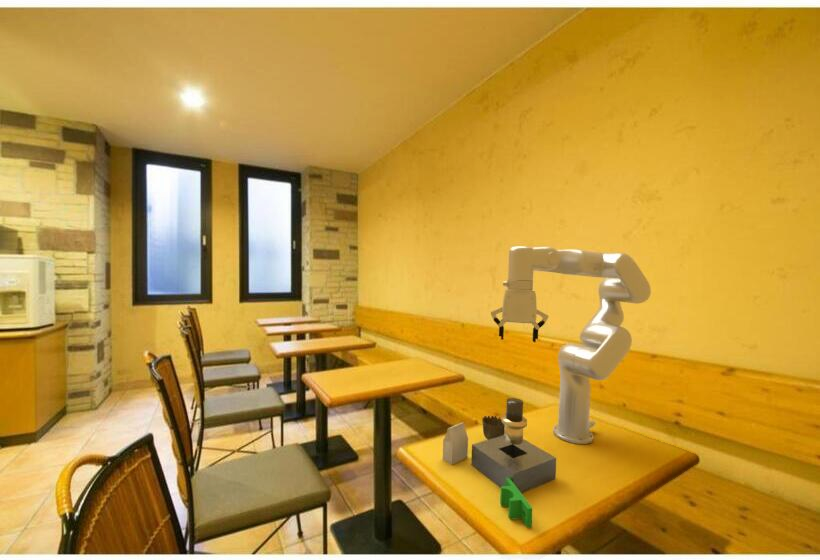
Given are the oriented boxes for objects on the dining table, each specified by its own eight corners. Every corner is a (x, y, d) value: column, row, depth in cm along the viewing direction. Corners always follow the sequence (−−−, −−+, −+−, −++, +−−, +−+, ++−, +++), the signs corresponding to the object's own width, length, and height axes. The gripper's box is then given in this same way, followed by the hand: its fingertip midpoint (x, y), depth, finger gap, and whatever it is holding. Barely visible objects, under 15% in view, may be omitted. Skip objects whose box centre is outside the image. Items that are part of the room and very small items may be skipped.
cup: (505, 451, 110) (506, 426, 110) (481, 448, 111) (482, 423, 111) (504, 440, 117) (505, 416, 117) (481, 437, 119) (482, 414, 118)
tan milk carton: (467, 457, 106) (468, 424, 106) (451, 465, 102) (452, 431, 102) (458, 452, 109) (459, 420, 109) (442, 459, 105) (443, 426, 104)
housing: (511, 451, 110) (512, 432, 110) (555, 479, 96) (556, 457, 96) (471, 464, 102) (471, 444, 102) (512, 497, 88) (513, 473, 88)
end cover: (513, 432, 103) (514, 394, 103) (531, 442, 98) (533, 403, 97) (495, 437, 100) (497, 398, 100) (513, 448, 94) (515, 407, 94)
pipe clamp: (495, 496, 89) (495, 479, 89) (509, 495, 89) (509, 477, 89) (516, 529, 78) (516, 509, 78) (531, 527, 78) (532, 507, 78)
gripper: (491, 285, 110) (489, 340, 110) (551, 287, 105) (548, 345, 106) (492, 284, 117) (490, 335, 118) (548, 286, 112) (545, 340, 113)
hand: (517, 340), depth 112 cm, fingers open, 9 cm apart
